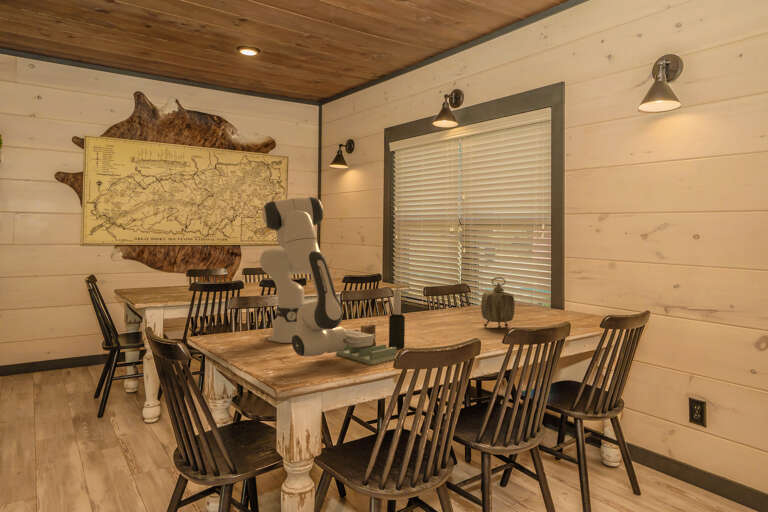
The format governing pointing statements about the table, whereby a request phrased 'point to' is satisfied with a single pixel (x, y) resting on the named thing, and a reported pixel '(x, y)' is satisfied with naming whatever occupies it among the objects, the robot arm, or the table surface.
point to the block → (368, 332)
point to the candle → (396, 323)
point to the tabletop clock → (497, 305)
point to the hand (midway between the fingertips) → (365, 333)
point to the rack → (369, 353)
